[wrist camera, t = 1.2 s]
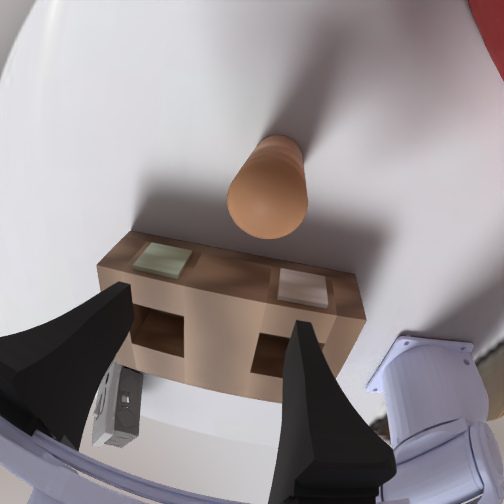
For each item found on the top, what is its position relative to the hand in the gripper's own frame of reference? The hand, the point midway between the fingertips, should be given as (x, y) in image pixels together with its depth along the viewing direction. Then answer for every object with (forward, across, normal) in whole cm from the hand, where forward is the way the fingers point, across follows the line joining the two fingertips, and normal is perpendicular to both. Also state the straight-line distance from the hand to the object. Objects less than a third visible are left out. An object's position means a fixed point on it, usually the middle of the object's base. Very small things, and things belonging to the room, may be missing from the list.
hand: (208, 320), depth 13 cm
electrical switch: (+10, +12, +23) cm, 27 cm away
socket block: (+9, 0, +7) cm, 12 cm away
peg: (+9, -2, -5) cm, 11 cm away
